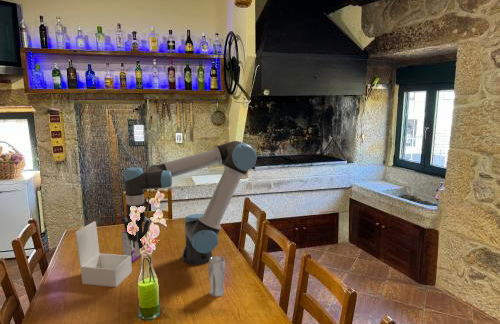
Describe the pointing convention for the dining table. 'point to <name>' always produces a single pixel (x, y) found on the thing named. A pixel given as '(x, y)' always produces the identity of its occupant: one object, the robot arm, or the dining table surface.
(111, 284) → the mailer box
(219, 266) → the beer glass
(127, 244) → the candy bar box
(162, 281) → the dining table surface
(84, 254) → the mailer lid
